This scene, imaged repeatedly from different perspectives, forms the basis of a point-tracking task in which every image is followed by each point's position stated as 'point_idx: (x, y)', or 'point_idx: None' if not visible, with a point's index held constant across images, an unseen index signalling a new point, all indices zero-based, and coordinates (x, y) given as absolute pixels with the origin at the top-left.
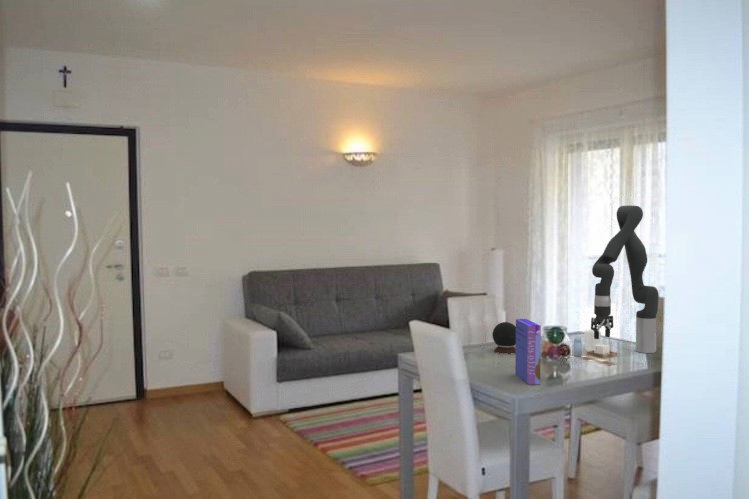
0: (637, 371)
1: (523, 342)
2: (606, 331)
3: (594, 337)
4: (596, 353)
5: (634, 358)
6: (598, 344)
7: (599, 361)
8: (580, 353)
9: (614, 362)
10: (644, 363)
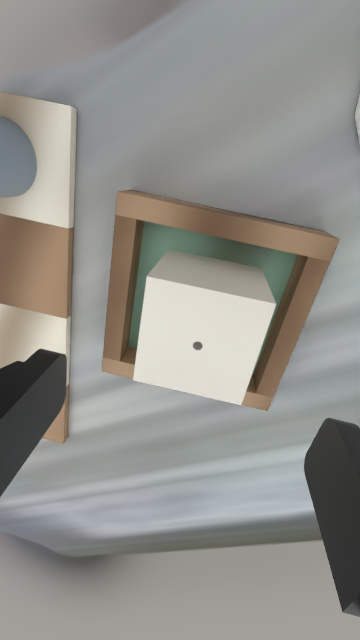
0: (14, 520)
1: None
2: (353, 523)
3: (12, 368)
4: (112, 302)
5: (297, 468)
6: (226, 298)
7: (4, 364)
8: None
9: (58, 431)
10: (193, 519)
